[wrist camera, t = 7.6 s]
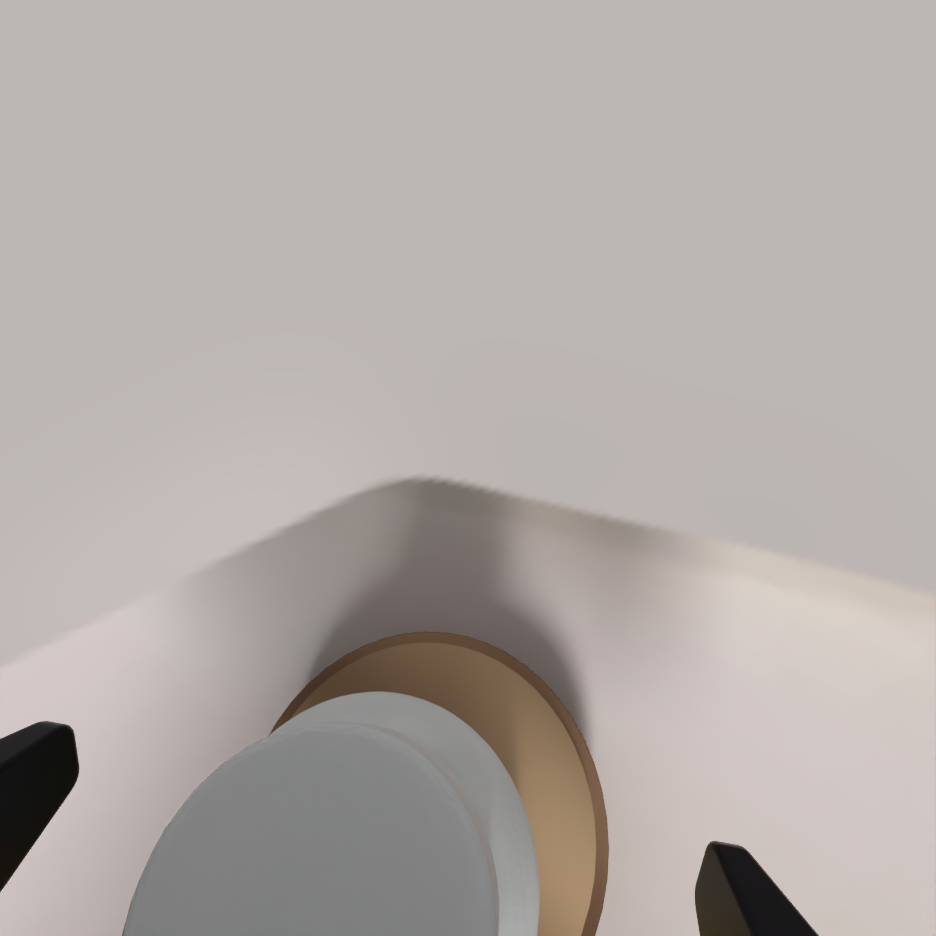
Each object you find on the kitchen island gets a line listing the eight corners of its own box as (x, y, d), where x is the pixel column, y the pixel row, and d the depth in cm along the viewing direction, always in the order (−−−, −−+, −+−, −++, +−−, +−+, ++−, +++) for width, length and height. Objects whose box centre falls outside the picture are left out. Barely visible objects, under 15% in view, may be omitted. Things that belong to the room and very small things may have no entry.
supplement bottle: (528, 961, 13) (608, 1366, 4) (303, 972, 13) (-63, 1393, 4) (509, 712, 15) (535, 654, 7) (322, 722, 15) (119, 676, 7)
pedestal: (461, 1145, 13) (456, 1241, 11) (201, 852, 16) (147, 869, 14) (649, 775, 17) (679, 777, 14) (409, 592, 20) (398, 566, 17)
